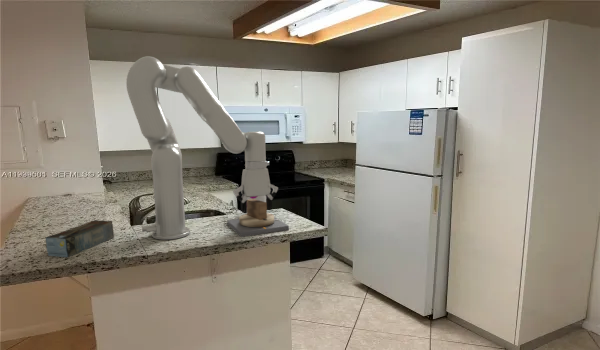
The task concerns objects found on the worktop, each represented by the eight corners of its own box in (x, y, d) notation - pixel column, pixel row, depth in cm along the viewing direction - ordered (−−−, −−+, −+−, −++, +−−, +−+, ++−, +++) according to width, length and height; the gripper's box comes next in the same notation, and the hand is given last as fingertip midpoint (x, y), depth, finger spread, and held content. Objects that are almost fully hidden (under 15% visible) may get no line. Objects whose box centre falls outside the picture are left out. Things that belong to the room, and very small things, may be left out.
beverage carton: (45, 256, 107) (43, 234, 106) (96, 236, 125) (94, 218, 124) (67, 258, 105) (65, 236, 104) (115, 238, 123) (114, 219, 122)
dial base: (241, 236, 123) (241, 232, 123) (227, 223, 139) (227, 219, 138) (288, 229, 131) (288, 225, 130) (270, 218, 147) (270, 214, 146)
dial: (233, 221, 135) (232, 200, 134) (261, 215, 144) (261, 196, 142) (251, 229, 125) (250, 206, 124) (281, 222, 134) (280, 201, 132)
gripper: (273, 163, 139) (274, 206, 141) (229, 165, 131) (231, 211, 133) (281, 165, 132) (281, 210, 134) (235, 168, 124) (237, 216, 127)
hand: (256, 211), depth 134 cm, fingers open, 9 cm apart
